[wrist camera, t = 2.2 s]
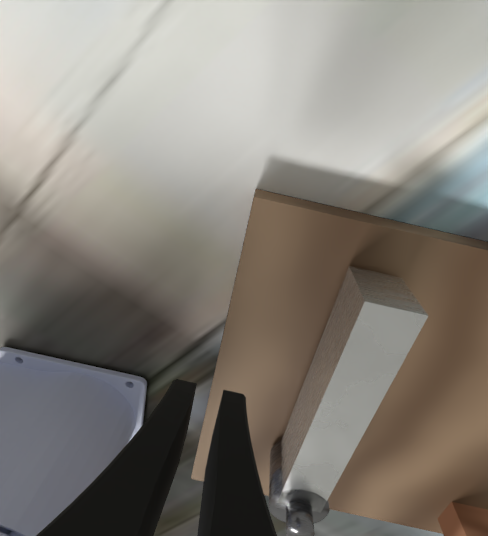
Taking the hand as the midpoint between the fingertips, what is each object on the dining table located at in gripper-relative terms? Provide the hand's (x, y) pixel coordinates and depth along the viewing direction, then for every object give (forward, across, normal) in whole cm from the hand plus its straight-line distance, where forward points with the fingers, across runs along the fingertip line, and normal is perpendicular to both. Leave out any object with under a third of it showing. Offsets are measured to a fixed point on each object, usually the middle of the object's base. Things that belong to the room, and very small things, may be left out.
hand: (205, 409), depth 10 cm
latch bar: (+7, -6, +4) cm, 10 cm away
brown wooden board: (+8, -10, +5) cm, 14 cm away
